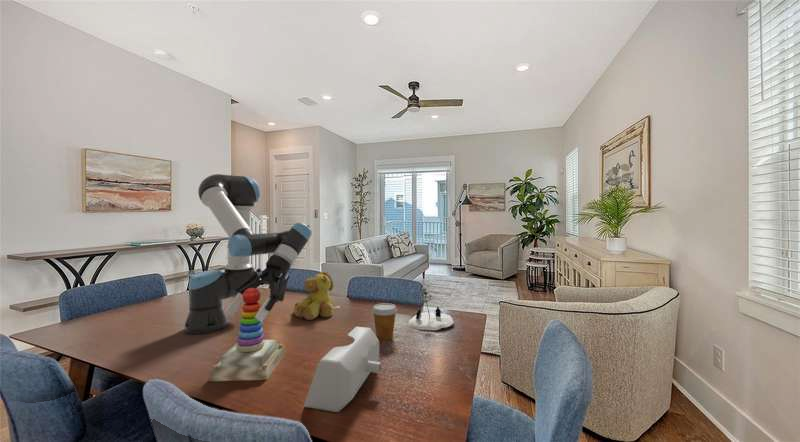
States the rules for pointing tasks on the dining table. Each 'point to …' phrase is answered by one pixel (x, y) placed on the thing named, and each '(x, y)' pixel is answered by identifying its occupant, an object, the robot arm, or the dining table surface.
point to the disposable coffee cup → (384, 320)
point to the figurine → (430, 317)
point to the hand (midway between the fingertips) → (243, 316)
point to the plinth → (248, 370)
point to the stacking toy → (250, 323)
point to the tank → (344, 371)
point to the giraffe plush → (316, 298)
